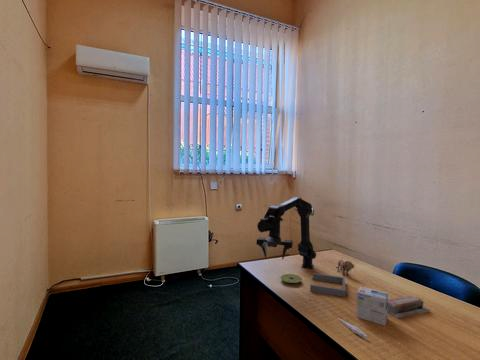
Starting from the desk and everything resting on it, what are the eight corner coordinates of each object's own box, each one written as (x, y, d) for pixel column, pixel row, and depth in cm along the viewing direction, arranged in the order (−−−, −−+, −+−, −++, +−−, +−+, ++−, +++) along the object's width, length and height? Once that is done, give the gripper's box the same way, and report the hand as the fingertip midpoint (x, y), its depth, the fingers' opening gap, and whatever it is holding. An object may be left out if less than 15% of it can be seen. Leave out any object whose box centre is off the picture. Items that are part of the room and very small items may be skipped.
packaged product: (398, 308, 108) (378, 296, 117) (397, 320, 108) (377, 307, 118) (430, 301, 114) (409, 291, 123) (430, 312, 114) (409, 301, 123)
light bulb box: (387, 318, 109) (388, 292, 108) (385, 326, 103) (386, 299, 102) (359, 310, 115) (359, 285, 114) (355, 317, 109) (356, 291, 108)
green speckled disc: (276, 282, 141) (276, 279, 141) (285, 275, 150) (285, 272, 150) (297, 288, 135) (297, 284, 135) (305, 280, 144) (305, 276, 144)
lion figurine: (355, 278, 148) (356, 262, 147) (347, 279, 146) (347, 262, 146) (339, 268, 162) (340, 253, 161) (331, 268, 161) (332, 254, 160)
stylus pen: (370, 339, 95) (370, 334, 95) (364, 341, 94) (364, 336, 94) (339, 319, 109) (339, 314, 109) (334, 320, 108) (334, 316, 108)
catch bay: (312, 278, 146) (312, 273, 146) (344, 283, 141) (344, 277, 141) (310, 291, 131) (310, 285, 131) (345, 296, 126) (345, 290, 126)
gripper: (253, 231, 139) (253, 261, 140) (290, 234, 133) (289, 265, 134) (259, 227, 149) (258, 254, 150) (293, 229, 144) (292, 258, 144)
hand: (274, 258), depth 144 cm, fingers open, 9 cm apart
